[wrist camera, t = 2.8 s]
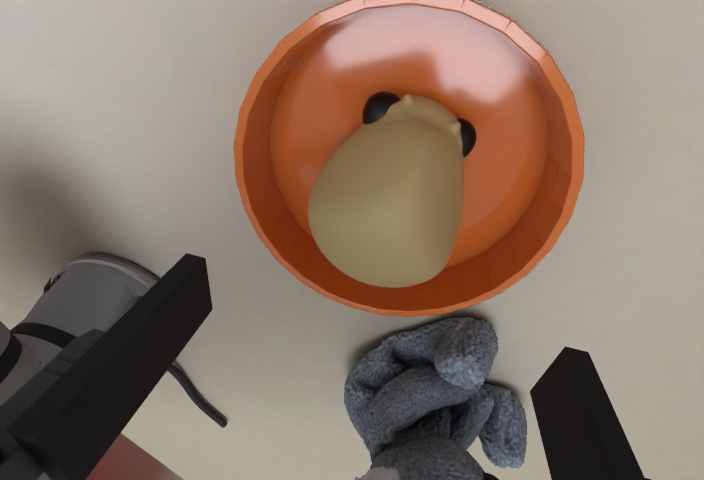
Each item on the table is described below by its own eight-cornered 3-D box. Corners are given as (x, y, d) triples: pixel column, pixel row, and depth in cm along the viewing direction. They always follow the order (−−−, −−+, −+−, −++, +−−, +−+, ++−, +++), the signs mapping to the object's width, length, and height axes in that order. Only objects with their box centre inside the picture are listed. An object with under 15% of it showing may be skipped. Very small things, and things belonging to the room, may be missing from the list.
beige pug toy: (453, 172, 29) (543, 99, 18) (408, 309, 26) (482, 314, 16) (344, 124, 28) (374, 19, 17) (286, 260, 25) (280, 231, 15)
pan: (487, 299, 31) (496, 343, 27) (265, 247, 33) (241, 281, 29) (627, 27, 19) (681, 32, 15) (263, -33, 21) (221, -44, 17)
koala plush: (528, 410, 39) (597, 692, 23) (383, 422, 46) (357, 644, 30) (484, 299, 31) (540, 602, 15) (319, 334, 38) (239, 566, 22)
